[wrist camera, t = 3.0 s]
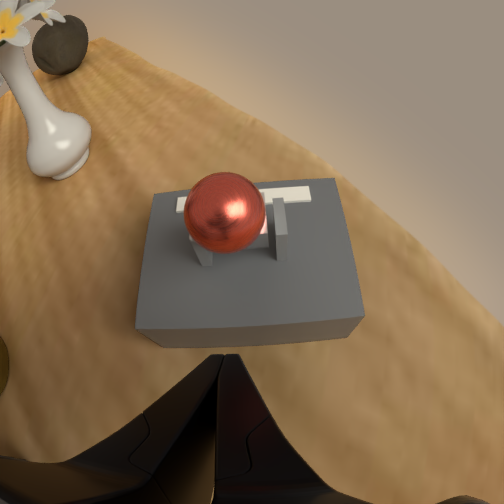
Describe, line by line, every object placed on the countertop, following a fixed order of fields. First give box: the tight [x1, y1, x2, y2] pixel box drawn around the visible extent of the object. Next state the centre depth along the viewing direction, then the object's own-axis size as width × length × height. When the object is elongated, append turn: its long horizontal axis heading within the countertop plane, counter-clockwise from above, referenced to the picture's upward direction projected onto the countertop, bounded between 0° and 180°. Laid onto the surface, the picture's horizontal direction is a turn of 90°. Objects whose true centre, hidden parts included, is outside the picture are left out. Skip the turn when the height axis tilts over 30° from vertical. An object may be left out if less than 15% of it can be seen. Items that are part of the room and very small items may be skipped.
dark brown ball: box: [32, 15, 88, 75], centre depth 46 cm, size 14×14×15 cm
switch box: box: [135, 178, 365, 348], centre depth 20 cm, size 10×13×8 cm
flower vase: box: [0, 0, 92, 180], centre depth 22 cm, size 13×18×25 cm
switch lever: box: [184, 172, 269, 254], centre depth 14 cm, size 3×3×8 cm
